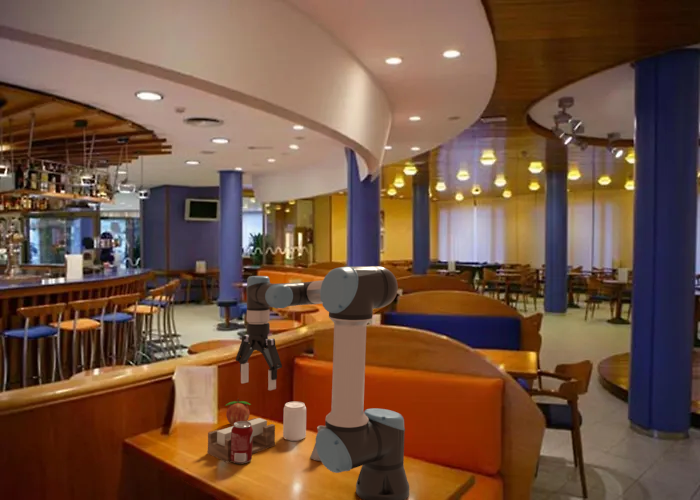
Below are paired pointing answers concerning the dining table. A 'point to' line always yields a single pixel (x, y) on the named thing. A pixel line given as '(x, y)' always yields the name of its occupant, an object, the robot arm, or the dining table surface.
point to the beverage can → (294, 421)
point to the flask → (314, 452)
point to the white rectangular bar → (226, 433)
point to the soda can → (241, 442)
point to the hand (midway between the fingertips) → (258, 386)
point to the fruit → (237, 411)
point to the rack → (224, 452)
